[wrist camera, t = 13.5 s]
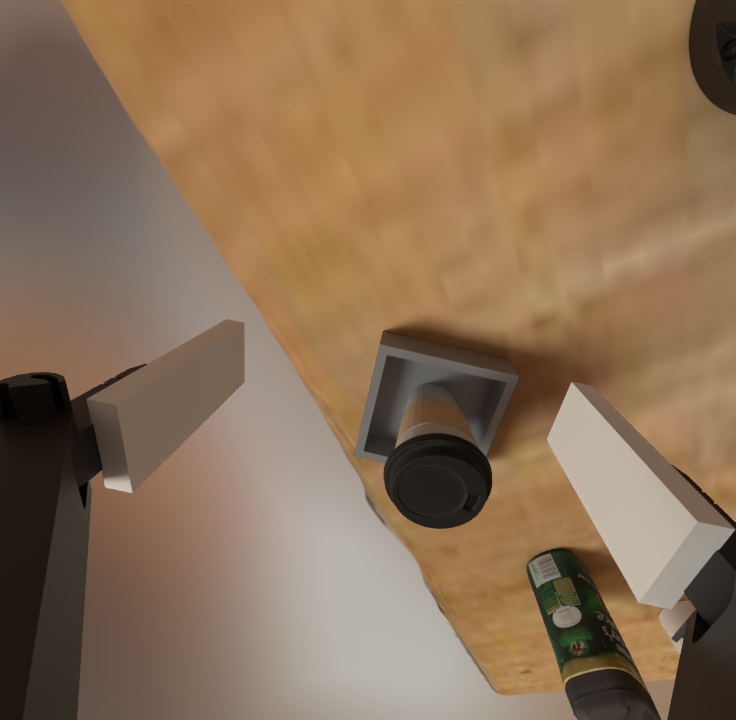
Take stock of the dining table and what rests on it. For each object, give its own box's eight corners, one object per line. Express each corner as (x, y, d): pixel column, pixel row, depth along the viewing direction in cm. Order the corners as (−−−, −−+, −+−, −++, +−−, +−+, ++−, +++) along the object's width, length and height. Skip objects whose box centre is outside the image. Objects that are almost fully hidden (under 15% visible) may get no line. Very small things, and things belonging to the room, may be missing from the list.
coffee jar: (597, 580, 52) (687, 757, 35) (547, 596, 55) (608, 769, 38) (567, 539, 50) (647, 708, 33) (516, 558, 53) (566, 724, 36)
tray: (508, 359, 41) (519, 376, 37) (468, 460, 47) (473, 484, 43) (383, 331, 41) (379, 344, 37) (359, 434, 47) (354, 455, 43)
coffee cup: (474, 430, 44) (503, 530, 30) (400, 441, 46) (395, 540, 32) (462, 362, 40) (489, 439, 27) (383, 377, 42) (369, 456, 28)
